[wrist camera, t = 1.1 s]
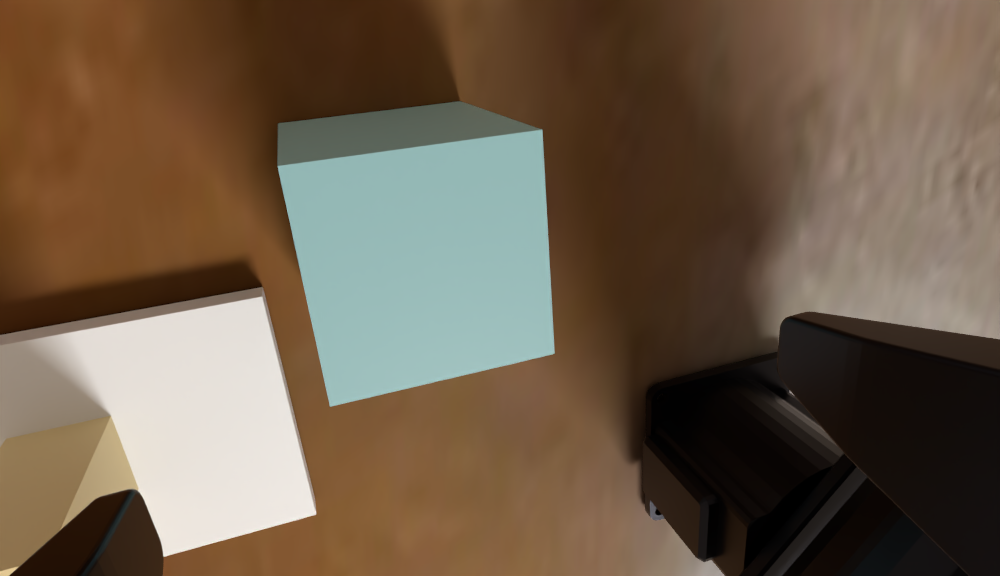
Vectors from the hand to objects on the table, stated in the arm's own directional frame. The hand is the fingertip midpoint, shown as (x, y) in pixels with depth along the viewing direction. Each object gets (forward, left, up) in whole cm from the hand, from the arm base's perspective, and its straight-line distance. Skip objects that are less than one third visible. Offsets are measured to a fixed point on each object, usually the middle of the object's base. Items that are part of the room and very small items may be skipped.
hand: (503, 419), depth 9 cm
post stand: (+10, +6, -12) cm, 16 cm away
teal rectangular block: (0, 0, -12) cm, 12 cm away
